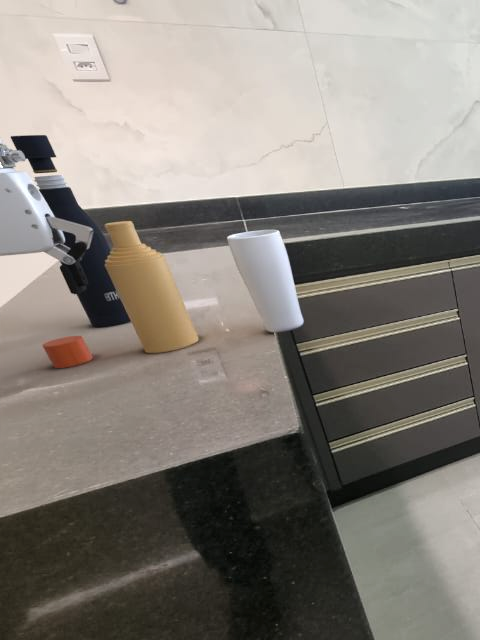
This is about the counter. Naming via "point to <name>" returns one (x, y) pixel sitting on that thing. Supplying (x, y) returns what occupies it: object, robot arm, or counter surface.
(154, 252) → the sauce bottle
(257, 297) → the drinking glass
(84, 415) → the counter surface
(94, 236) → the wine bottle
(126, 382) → the counter surface
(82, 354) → the cap
